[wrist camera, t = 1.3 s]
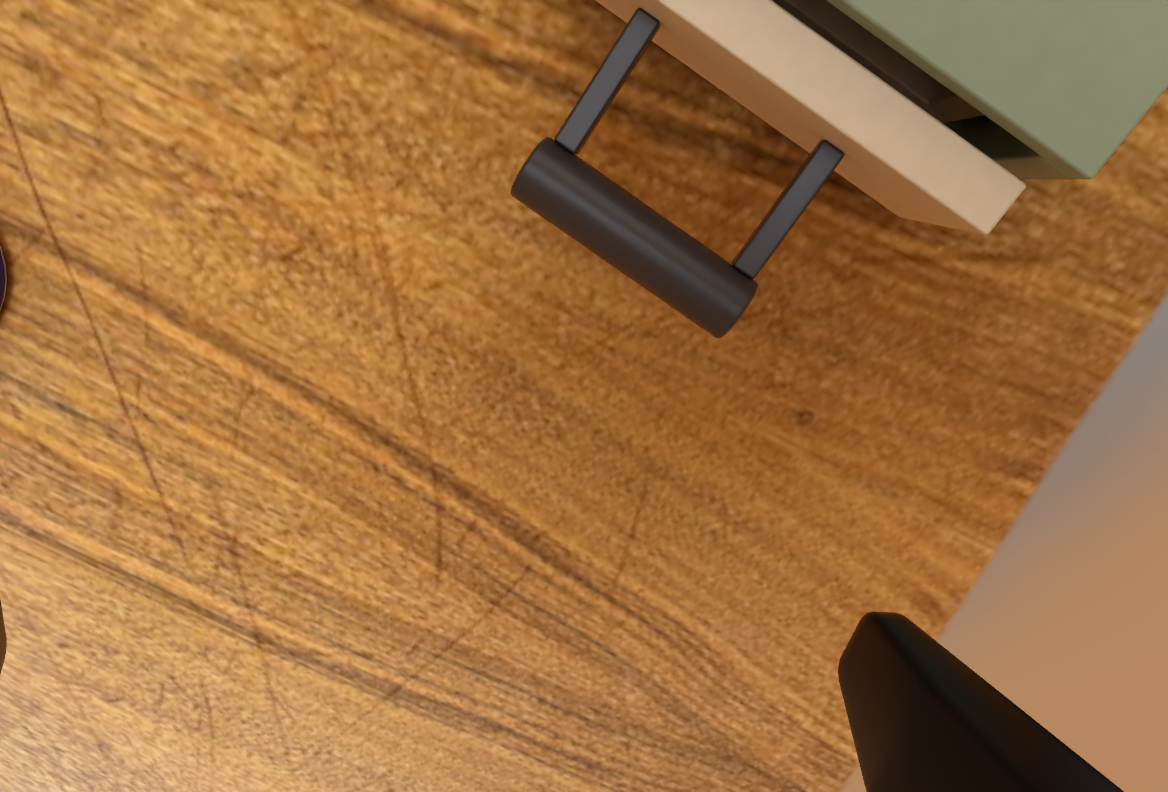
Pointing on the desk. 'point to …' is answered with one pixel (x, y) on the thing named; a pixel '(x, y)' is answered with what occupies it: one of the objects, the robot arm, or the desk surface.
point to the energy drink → (2, 278)
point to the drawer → (790, 105)
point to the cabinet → (1034, 72)
